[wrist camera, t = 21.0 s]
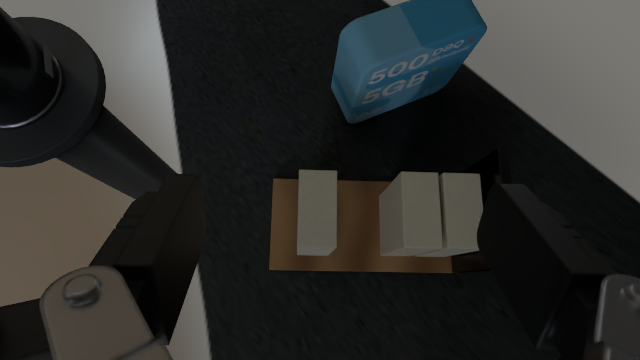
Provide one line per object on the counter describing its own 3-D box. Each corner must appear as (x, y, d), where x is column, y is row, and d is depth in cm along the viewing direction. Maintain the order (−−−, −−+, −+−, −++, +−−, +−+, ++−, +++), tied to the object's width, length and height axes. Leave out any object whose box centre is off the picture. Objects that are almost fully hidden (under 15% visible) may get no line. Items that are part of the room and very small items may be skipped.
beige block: (297, 255, 38) (297, 246, 30) (298, 194, 40) (299, 169, 31) (328, 255, 38) (336, 247, 30) (328, 195, 40) (337, 170, 31)
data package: (345, 127, 43) (364, 69, 31) (329, 92, 43) (340, 22, 32) (443, 90, 44) (495, 21, 33) (425, 56, 45) (469, -22, 34)
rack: (269, 270, 38) (258, 264, 27) (273, 179, 41) (264, 140, 29) (457, 273, 39) (521, 268, 28) (451, 184, 42) (507, 148, 30)
